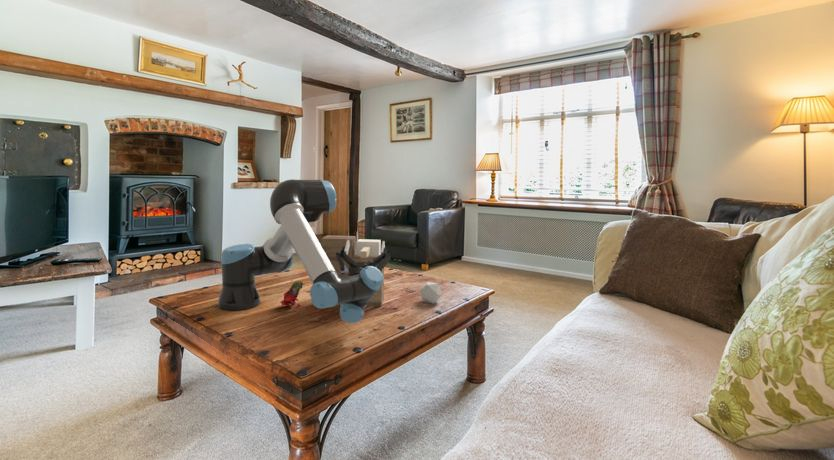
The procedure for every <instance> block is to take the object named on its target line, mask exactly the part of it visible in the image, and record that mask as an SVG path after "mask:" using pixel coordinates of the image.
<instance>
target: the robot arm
mask: <svg viewBox="0 0 834 460" xmlns="http://www.w3.org/2000/svg"><path fill="white" fill-rule="evenodd" d="M337 201H338V200H337V193H336V189H335V187H334V186H333V184H332V183H331V182H330V181H328V180H325V179H324V180H323V179H287V180H284V181H282V182H280V183H279V184H278V185H276V187H275V188H274V190H273V191H272V193H271V195H270V199H269V208H270V213H271V215H272V217H273V219H274V221H275V223H276V224H278V225H280V226H279V227H278V229H277V230H276V232H275V233H274V235H273V237H270V238H268V239H267V240H266V241H265V242H264V243H263V244H262V245H261V246H255V245H253V244H251V243H244V244H243V243H241V244H235V245H231V246H227V247H226V248H224V249H223V250H222V251H221V261H220V262H221V277H222V278H221V279H222V281H221V282H222V286H221V290H220V293H219V297H218V300H217V307H218V308H219V309H221V310H225V311H242V310H247V309H252V308H254V307H257V306H259V304H260V303H261V299H260V298H261V297H260V294H259V291H258V289H257V287H256V282H255V277H257V276H263V275H269V274H271V275H272V274H279V273H283V272H286V271H287V270H289V269H291V267H292V265H293V263H294V261H293V260H294V252H293V249H294V251H295V253H296V256H298V258H299V261H300V262H301V264H302V267H303V268H304V270H305V272H306V274H307V275H308V277H309V279H310V281H311V283H312V285H311V287H310V289H309V296H310V298H311V299H310V301H311V303H312V305H313V306H314V307H316V308H317V309H319V310H320V309H328V308H333V307H334V308H335V306H339V316H340V318H341V319H342V320H343V321H344V322H348V323H350V324H355V323H358V322H360V321H362V319H363V318H364V317H363V316H364V314H365V308H366V307H368V306H367V304H368V303H369V301H370V300H371V299H372V297H373V296H374V295H375V294H376V292H377V291H378V290H379V289H380V287H381V285H382V283H383V281H384V282H385V276H384V277H383V275H382V273H381V270H382V269H383V268H384V269H385V267H386V266H387V265H388V264H389V263H390V261H391V260H392V259H391V256H392V255H391V254H390V253H387V252H388V248H387V247H386V245H385V243H386V241H385V240H382V241H381V255H379V256H378V257H376V258H375V259H373V260H372V261H368V262H367V263H366V262H357V263H355V262H354V260H352V259H351V258H350V257H349V256H348V255H347V254H348V251H349V247H350V242H349V240H347V243H346V246H345V247H343V248H342V250H341V253H338V252H337V253H336V259H337V261H338V263H339V265H340V268H341V274H342V275H343V274H345V273H348V272H349V274H348V277H343V278H339V276H338V274H337V273H336V271H335V269H334V267H333V266H332V264H331V262H330V260H329V259H328V257H327V255H326V253H325V252H324V250H323V248H322V244H321V243H320V242H319V239H318V238H317V236H316V234H315V232H314V231H313V229H312V227H311V223H314V222H317V221H318V220H319V219H320V218H321V217H322V215H323V214H324V213H327V214H328V213H331V212H333V211H335V208H336V206H337ZM342 259H343V260H344V261H345V262H346V263H347V264H348V265H349V266H350V267H349V269H347V267H346V266H344V263H343V261H342ZM376 265H377V267H375V266H376ZM339 304H341V305H339Z"/></svg>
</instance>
